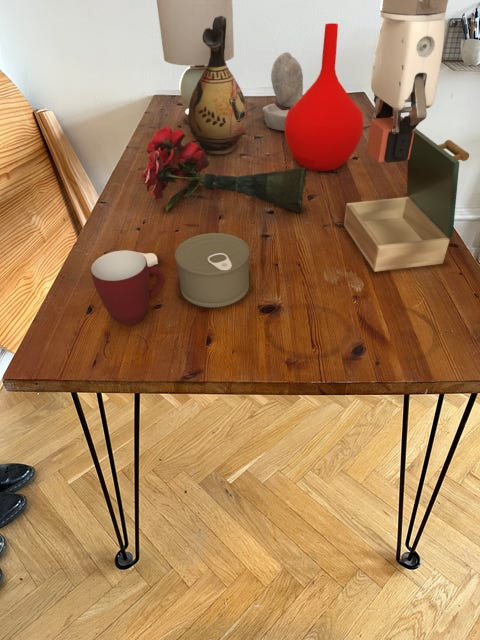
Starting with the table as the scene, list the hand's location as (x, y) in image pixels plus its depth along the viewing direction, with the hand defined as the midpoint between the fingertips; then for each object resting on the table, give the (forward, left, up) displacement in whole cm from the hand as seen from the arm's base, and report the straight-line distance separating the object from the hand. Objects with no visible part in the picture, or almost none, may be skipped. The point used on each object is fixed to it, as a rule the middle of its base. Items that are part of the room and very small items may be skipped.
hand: (388, 152), depth 68 cm
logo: (+39, -10, -22) cm, 46 cm away
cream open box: (-8, -9, -21) cm, 25 cm away
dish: (-5, -77, -22) cm, 81 cm away
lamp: (+19, -89, -22) cm, 94 cm away
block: (0, 0, 0) cm, 0 cm away
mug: (+39, +3, -22) cm, 45 cm away
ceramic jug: (+17, -65, -22) cm, 71 cm away
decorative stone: (-9, -97, -22) cm, 100 cm away
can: (+26, -2, -22) cm, 34 cm away
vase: (-6, -48, -22) cm, 53 cm away
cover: (-13, -9, -10) cm, 19 cm away
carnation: (+20, -33, -22) cm, 44 cm away
